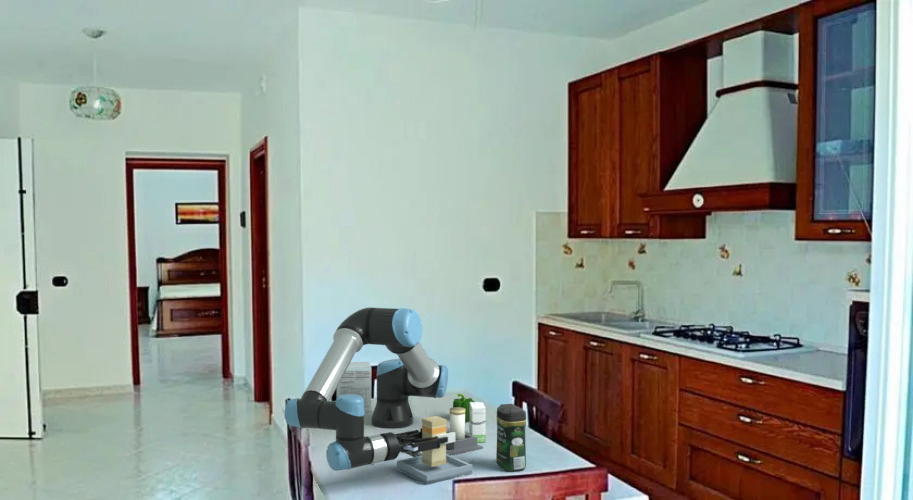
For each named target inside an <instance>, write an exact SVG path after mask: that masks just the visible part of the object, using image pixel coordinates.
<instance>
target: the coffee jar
mask: <svg viewBox="0 0 913 500" xmlns="http://www.w3.org/2000/svg"><path fill="white" fill-rule="evenodd" d="M526 426H527V412H526V410H524V409H523V408H521V407H520V406H517V405H515V404H513V403H504V404H503V403H502V404H500V405H499V406H498V407H497V409H496V427H497V428H496V452H495V453H496V457H495V458H496V459H495V461H496V462H495V463H496V465H497V466H498V467H499V468H500V469H502V470H503V471H505V472H507V471H508V472H520V471H523V470H524V469H526V468H527V456H526V455H527V450H526V448H527V447H526Z"/></svg>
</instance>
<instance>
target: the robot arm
mask: <svg viewBox="0 0 913 500" xmlns="http://www.w3.org/2000/svg"><path fill="white" fill-rule="evenodd" d="M421 322H422V319H421V316H420V314H419V313H418V312H417V311H416V310H415V309H411V308H410V309H409V308H405V307H402V308H392V307H391V308H387V307H371V306H370V307H364V308H362V309H359V310H357V311H355V312H353V313H352V314H350V315H348V317H346V318H345V319H344V320H343V321H342V322H341V323H340V324H339V325H338V327H337V328H336V330H335V332H334V333H333V337H332V339H333V340H332V341H333V342H332V344H331V345H330V347H329V349H328V350H327V351H326V354H325V356H324V358H323V359H322V361H321V362H320V364H319V366H318V368H317V370H316V371H315V373H314V374H313V377H312V378H311V380H310V381H309V383H308V385H307V387H306V388H305V391H304V392H303V394H302V395H301V397H300V398H298V397H297V398H291V399H290V400H289V401H288V402H287V403H286V405H285V409H284V420H285V422H286V424H287V425H288V426H290V427H294V428H295V427H296V428H300V429H304V428H305V429H317V430H318V429H321V430H327V431H328V430H329V431H330V430H331V431H335V441H333V442H331V443H329V444H328V445H327V447H326V451H325V452H326V454H325V456H326V460H327V461H326V462H327V463H328V466H329V467H330V469H332V470H333V471H335V472H336V471H344V470H351V469H355V468H359V467H363V466H368V465H370V466H374V464H377V463H383V462H388V461H393V460H395V459H397V458H398V456H399V454H400V453H402V454H403V453H407V452H408V451H411V453H412V454H416V453H418V452H420V453H422V451H427V450H432V449H438V448H440V445H442V444H447V443H452V442H455V432H451V433H450V432H446V434H441V435H436V437H430V438H422V427H421V428H419V429H420V430H418V429H414V430H410V431H409V430H408V431H405V432H398V433H394V432H392V431H389V432H383V433H380V434H379V433H377V434H372V435H371V434H370V435H368V436H365V414H366V411H364V400H363V398H362V397H361V396H360V395H356V394H345V395H340V396H338V397H337V396H336V399H335V401H331V400H332V398H333V395H335V392H336V391H337V386H338V384H339V383H340V381H341V379H342V377H343V375H344V373H345V371H346V369H347V368H348V366H349V364H350V362H352V360H353V359H354V356H355V354H356V353H358V352H360V351H361V350H362V348H363V346H365V345H378V346H385V347H386V349H387V350H388V351H389V352H391V353H392V354H394V355H395V354H396V355H397V357H398V358H392V359H387V360H384V361H381V362H379V363H378V364H377V366H376V367H377V369H376V402H375V403H376V404H375V406H374V410H373V413H372V415H371V425H373V426H375V427H378V428H383V429H384V428H385V429H396V428H397V429H398V428H399V429H400V428H405V427H409V426H411V425H413V424H414V416H413V412H412V409H411V406H410V401H409V397H420V398H433V399H436V398H438V399H441V398H444V397H445V394H446V392H447V389H448V380H449V370H448V366H447V365H443V364H440V365H439V364H438V362H437V361H435V359H433V358H431V357H429V355H428V353H427V352H426V350H425V348H424V347H423V345H422V343H421V338H422V334H423V325H422V324H423V323H421Z"/></svg>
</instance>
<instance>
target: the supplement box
mask: <svg viewBox="0 0 913 500" xmlns="http://www.w3.org/2000/svg"><path fill="white" fill-rule="evenodd" d="M345 394H356V395H360V396H361V397H362V398H363V400H364V411H365V412H371V411H372V366H371V363H370V362H369V361H351V362H350V364H349V366H348V368H347V369H346V371H345V373H344V375H343V377H342V379H341V381H340V383H339V384H338V386H337V388H336V398H337V397H338V396H340V395H345Z"/></svg>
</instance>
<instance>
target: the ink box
mask: <svg viewBox="0 0 913 500" xmlns="http://www.w3.org/2000/svg"><path fill="white" fill-rule="evenodd" d="M486 414H487V410H486V406H485V404H484V402H480V401H474V402H470V421H469V425H468V426H469V432H468V434H470V435H473V436H475V437H477V443H486V440H487V439H486V437H487V436H486V435H487V429H486V428H487V427H486V426H487V423H486V422H487V421H486V420H487V418H486V417H487V416H486Z"/></svg>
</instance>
